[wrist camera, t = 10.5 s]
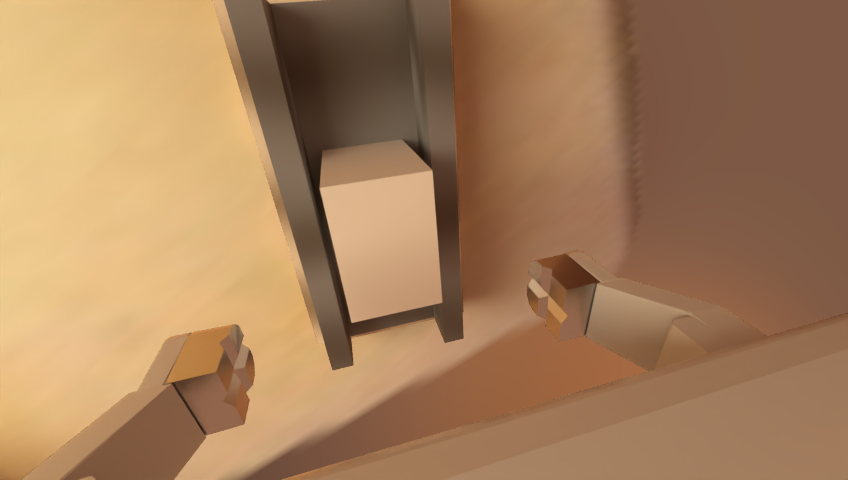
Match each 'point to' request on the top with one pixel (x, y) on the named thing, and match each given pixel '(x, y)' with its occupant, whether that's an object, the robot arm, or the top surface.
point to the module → (382, 227)
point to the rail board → (348, 129)
